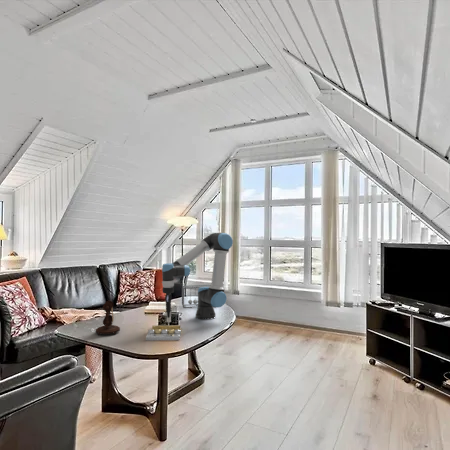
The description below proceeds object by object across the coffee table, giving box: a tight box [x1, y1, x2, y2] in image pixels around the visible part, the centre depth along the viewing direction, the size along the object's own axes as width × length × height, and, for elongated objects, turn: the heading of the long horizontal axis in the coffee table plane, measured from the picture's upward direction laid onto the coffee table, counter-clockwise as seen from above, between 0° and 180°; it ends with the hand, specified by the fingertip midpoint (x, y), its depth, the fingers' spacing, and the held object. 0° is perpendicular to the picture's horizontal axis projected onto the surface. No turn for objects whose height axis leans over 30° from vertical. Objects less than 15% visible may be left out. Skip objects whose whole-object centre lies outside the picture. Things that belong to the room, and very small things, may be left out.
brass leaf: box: [149, 324, 183, 334], centre depth 225 cm, size 20×11×4 cm, turn 92°
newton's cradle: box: [181, 284, 211, 309], centre depth 307 cm, size 30×10×18 cm, turn 101°
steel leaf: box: [145, 329, 182, 341], centre depth 217 cm, size 20×11×4 cm, turn 92°
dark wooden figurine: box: [95, 300, 121, 336], centre depth 226 cm, size 15×15×20 cm
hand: (168, 321), depth 237 cm, fingers closed
